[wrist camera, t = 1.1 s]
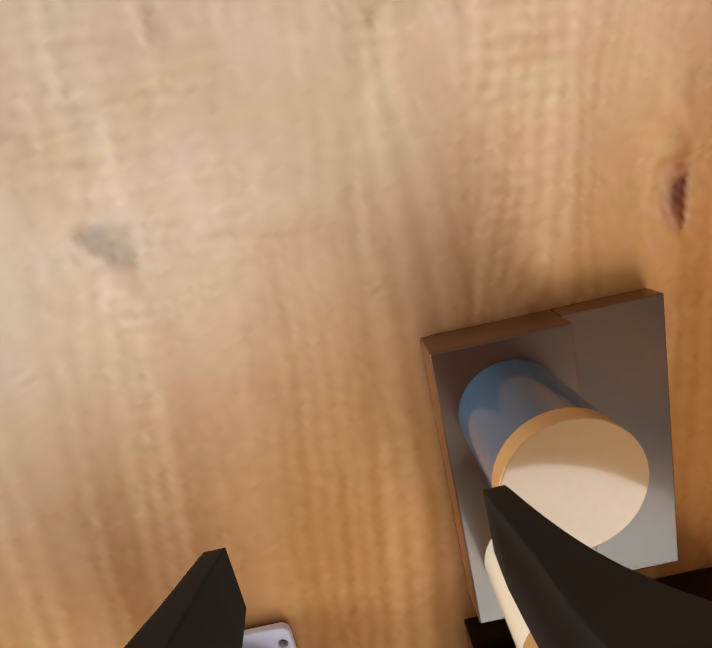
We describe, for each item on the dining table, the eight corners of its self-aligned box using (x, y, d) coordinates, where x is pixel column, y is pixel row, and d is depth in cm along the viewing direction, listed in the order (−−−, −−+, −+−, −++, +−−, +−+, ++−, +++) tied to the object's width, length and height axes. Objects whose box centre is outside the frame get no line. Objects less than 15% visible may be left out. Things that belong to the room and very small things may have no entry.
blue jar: (573, 447, 22) (654, 536, 16) (464, 471, 22) (509, 566, 16) (561, 345, 21) (645, 402, 15) (446, 370, 21) (488, 436, 15)
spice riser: (663, 544, 26) (695, 579, 24) (467, 586, 27) (479, 624, 24) (647, 287, 23) (682, 298, 20) (419, 337, 23) (429, 354, 21)
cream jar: (589, 587, 24) (666, 708, 18) (489, 608, 24) (537, 735, 18) (578, 500, 23) (659, 602, 17) (474, 523, 23) (520, 631, 17)
